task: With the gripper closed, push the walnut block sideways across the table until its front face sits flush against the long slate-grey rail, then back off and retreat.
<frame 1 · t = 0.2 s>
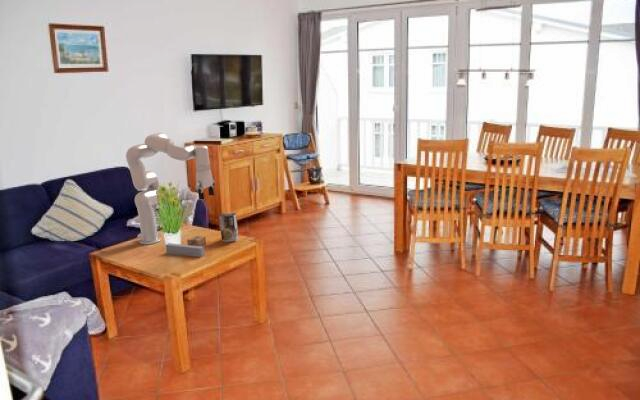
hand: (206, 197, 308), 30 cm above the table, fingers open, 9 cm apart
coffee box: (230, 240, 327), on the table
walnut block: (197, 247, 317), on the table
slate rail: (185, 254, 306), on the table
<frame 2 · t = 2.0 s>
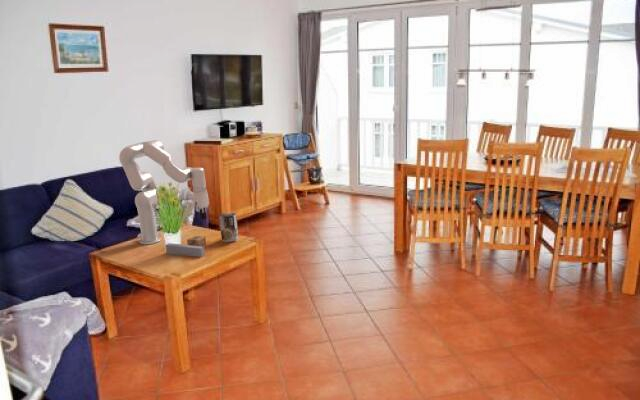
hand: (203, 218, 320), 15 cm above the table, fingers closed
nothing on the table moved.
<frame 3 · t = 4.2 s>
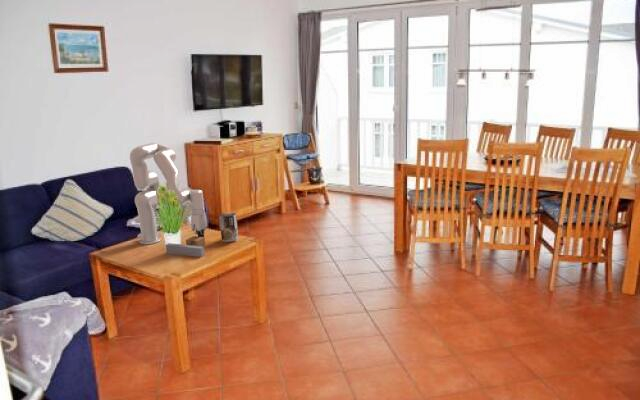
hand: (201, 240, 320), 3 cm above the table, fingers closed
walnut block: (196, 248, 315), on the table, touching gripper
everything else where it was.
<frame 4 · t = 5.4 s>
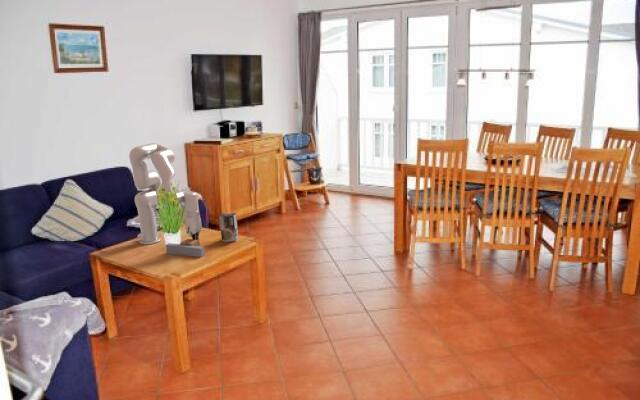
hand: (196, 243, 315), 3 cm above the table, fingers closed
walnut block: (190, 251, 311), on the table, touching gripper, slate rail
everything else where it was.
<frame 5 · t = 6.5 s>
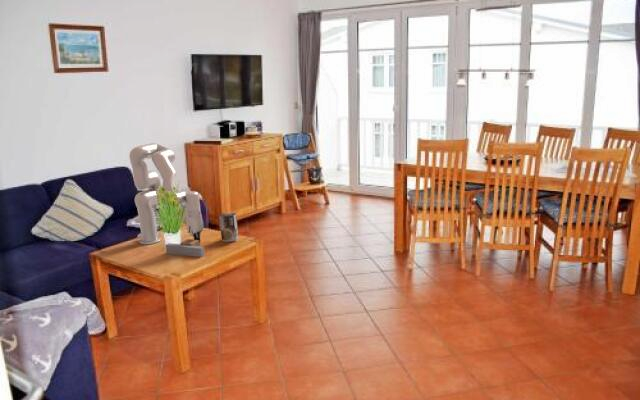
hand: (197, 242, 317), 3 cm above the table, fingers closed
walnut block: (190, 251, 311), on the table
everything else where it was.
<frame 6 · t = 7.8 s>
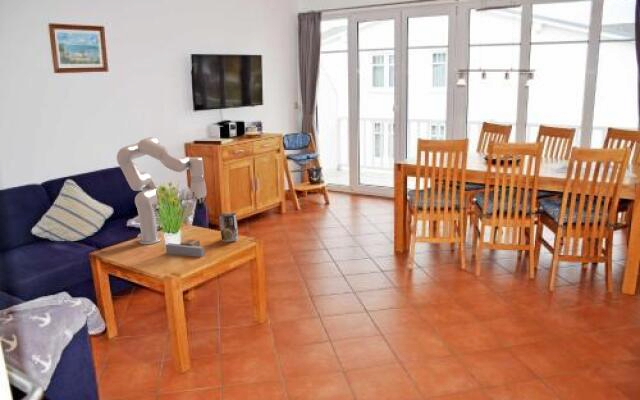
hand: (200, 209, 318), 21 cm above the table, fingers closed
nothing on the table moved.
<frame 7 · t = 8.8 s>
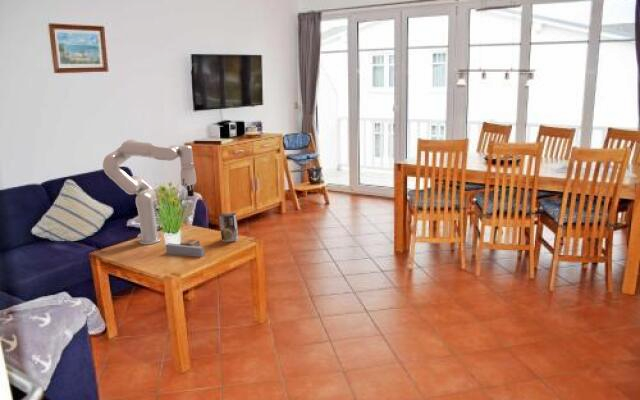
hand: (190, 196, 326), 27 cm above the table, fingers closed
nothing on the table moved.
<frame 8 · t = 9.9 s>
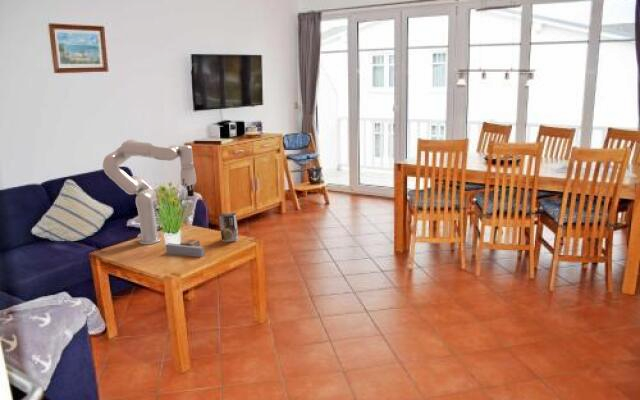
hand: (190, 195, 326), 27 cm above the table, fingers closed
nothing on the table moved.
at the end: walnut block inside the target area on the table beside the slate rail (0.8 cm from its centre), on the table; walnut block tilted 0°; walnut block moved 6.5 cm from its start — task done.
